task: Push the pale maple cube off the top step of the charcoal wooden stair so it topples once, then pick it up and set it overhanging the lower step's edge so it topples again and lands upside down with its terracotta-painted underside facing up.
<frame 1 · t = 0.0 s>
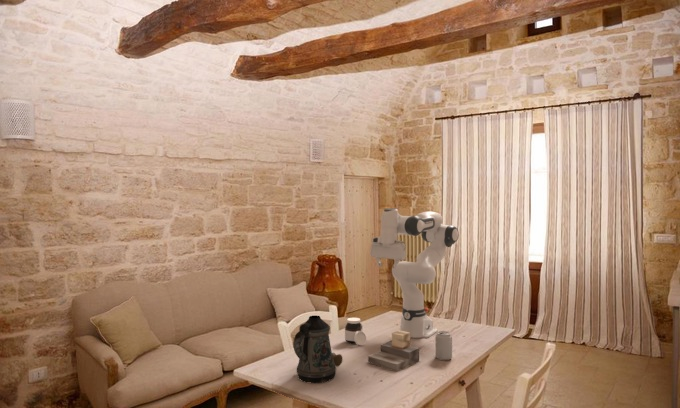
hand: (387, 267, 240), 39 cm above the table, tool pointing down, fingers open, 8 cm apart
beer stein: (315, 377, 198), on the table
kendama: (324, 360, 218), on the table
spread jar: (356, 343, 244), on the table
maple cube: (401, 345, 219), point 6 cm above the table, touching stair block
can: (443, 358, 220), on the table
stair block: (394, 361, 216), on the table
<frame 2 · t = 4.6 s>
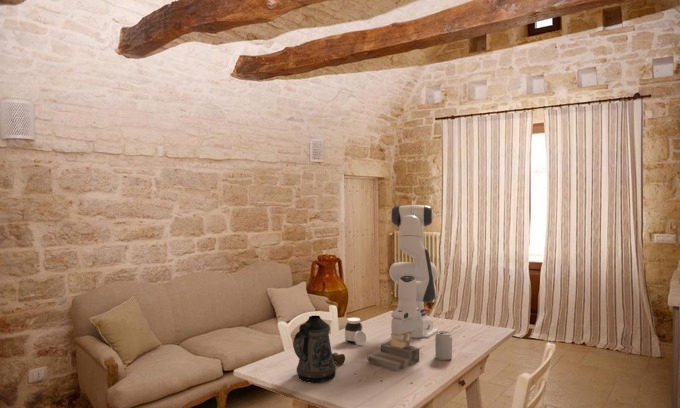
hand: (407, 340, 223), 7 cm above the table, tool pointing down, fingers closed
maple cube: (400, 346, 219), point 6 cm above the table, touching gripper
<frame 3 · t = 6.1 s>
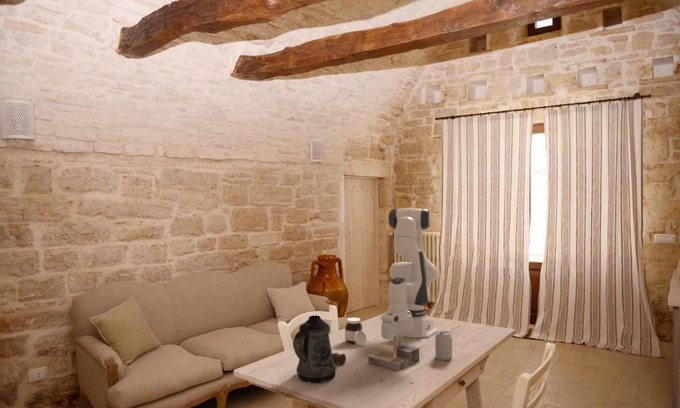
hand: (398, 344, 218), 7 cm above the table, tool pointing down, fingers closed
maple cube: (391, 349, 214), point 6 cm above the table, tilted 90°, touching stair block
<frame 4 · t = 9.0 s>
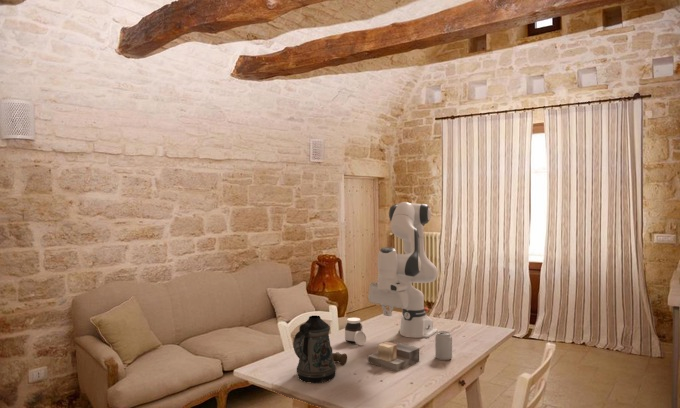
hand: (387, 315, 212), 22 cm above the table, tool pointing down, fingers closed
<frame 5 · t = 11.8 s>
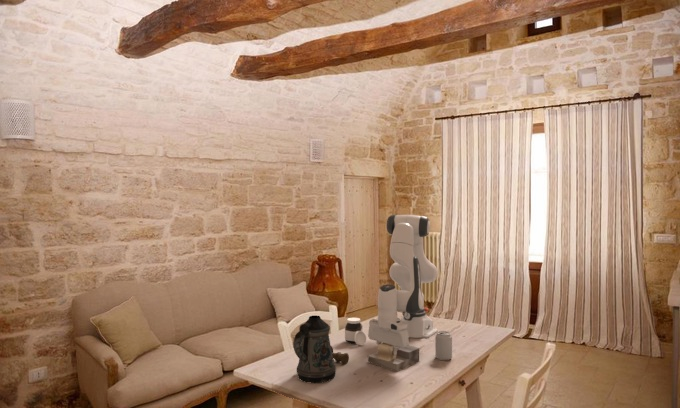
hand: (387, 353, 212), 5 cm above the table, tool pointing down, fingers closed on maple cube, 6 cm apart
maple cube: (391, 349, 214), point 6 cm above the table, tilted 90°, touching gripper, stair block
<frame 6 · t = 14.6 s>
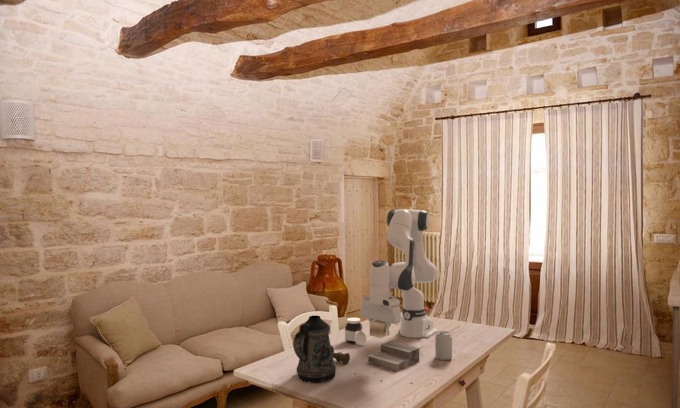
hand: (379, 330, 208), 16 cm above the table, tool pointing down, fingers closed on maple cube, 6 cm apart
maple cube: (383, 327, 210), point 17 cm above the table, tilted 90°, touching gripper
when the fingers open (6 cm above the table, at t = 17.4 s): maple cube moves 8 cm and tips over, point 6 cm above the table.
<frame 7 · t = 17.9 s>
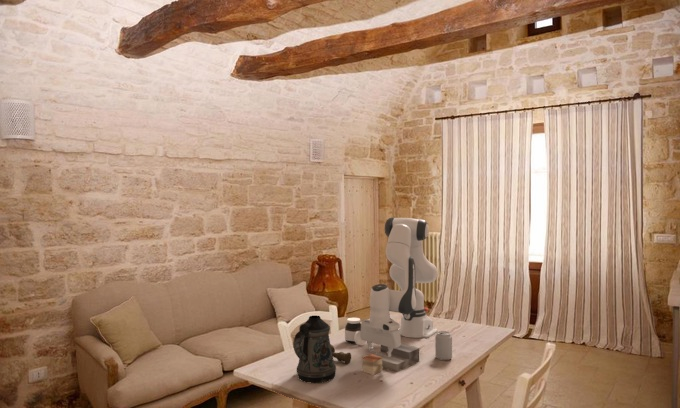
hand: (379, 353, 208), 6 cm above the table, tool pointing down, fingers open, 8 cm apart
maple cube: (372, 357, 204), point 6 cm above the table, tilted 180°
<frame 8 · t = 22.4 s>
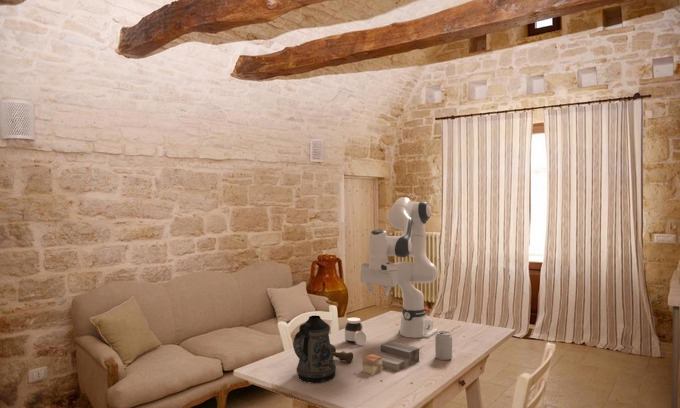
hand: (378, 294, 223), 29 cm above the table, tool pointing down, fingers open, 8 cm apart
at the end: maple cube tilted 180°; maple cube inside the target area (2.0 cm from its centre), point 5.9 cm above the table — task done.
